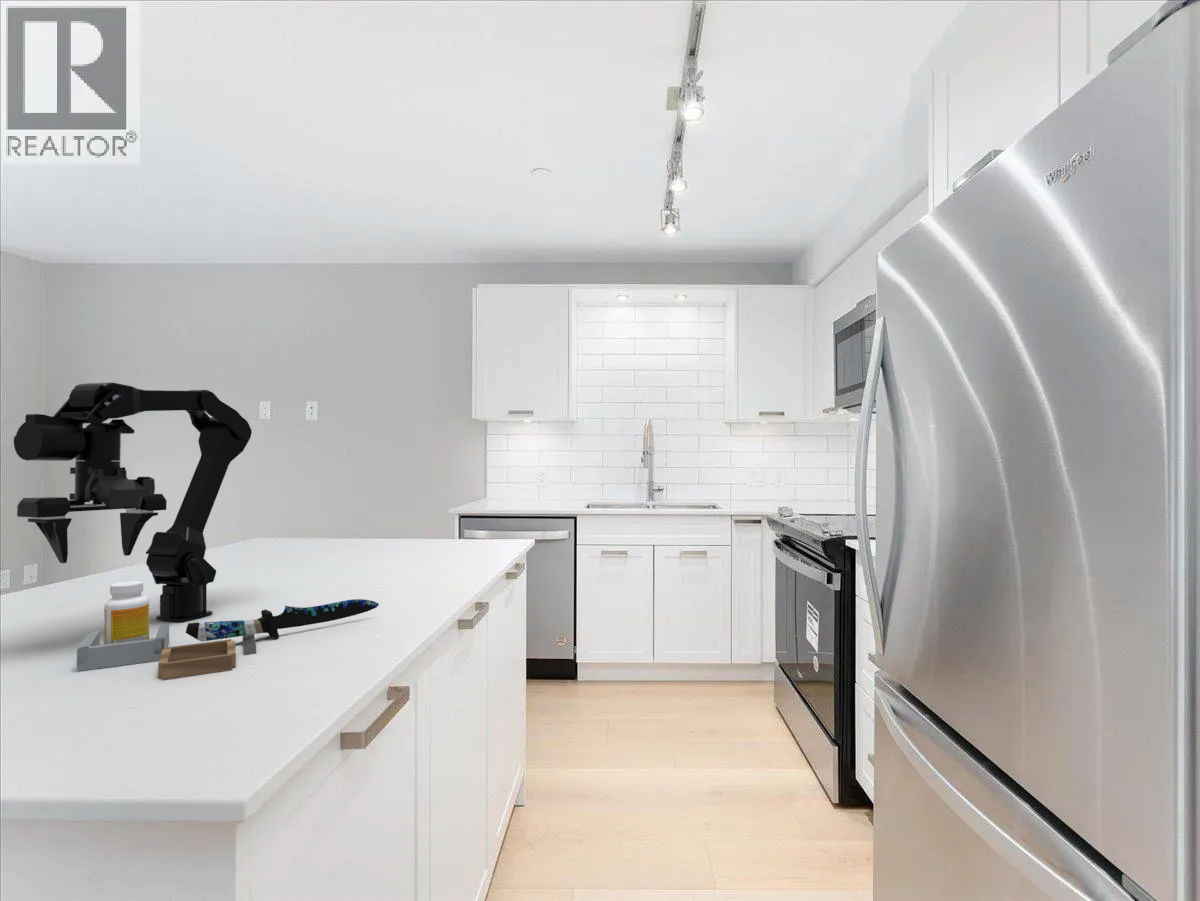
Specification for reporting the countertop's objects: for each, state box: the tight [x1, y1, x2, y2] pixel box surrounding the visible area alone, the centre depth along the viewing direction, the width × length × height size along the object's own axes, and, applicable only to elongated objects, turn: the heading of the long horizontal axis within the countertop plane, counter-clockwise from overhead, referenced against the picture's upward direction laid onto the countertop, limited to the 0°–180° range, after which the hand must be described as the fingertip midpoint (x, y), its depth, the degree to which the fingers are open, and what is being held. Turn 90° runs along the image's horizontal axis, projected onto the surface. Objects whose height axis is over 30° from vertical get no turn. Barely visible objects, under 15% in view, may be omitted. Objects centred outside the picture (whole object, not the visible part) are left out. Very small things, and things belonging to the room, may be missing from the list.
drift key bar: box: [242, 634, 257, 655], centre depth 101 cm, size 8×2×1 cm, turn 30°
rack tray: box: [76, 623, 170, 672], centre depth 96 cm, size 10×10×3 cm
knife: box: [185, 598, 380, 643], centre depth 108 cm, size 31×3×4 cm, turn 132°
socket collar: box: [157, 638, 237, 681], centre depth 92 cm, size 9×9×2 cm
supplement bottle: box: [103, 580, 150, 644], centre depth 96 cm, size 5×5×10 cm
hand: (96, 559), depth 103 cm, fingers open, 9 cm apart
